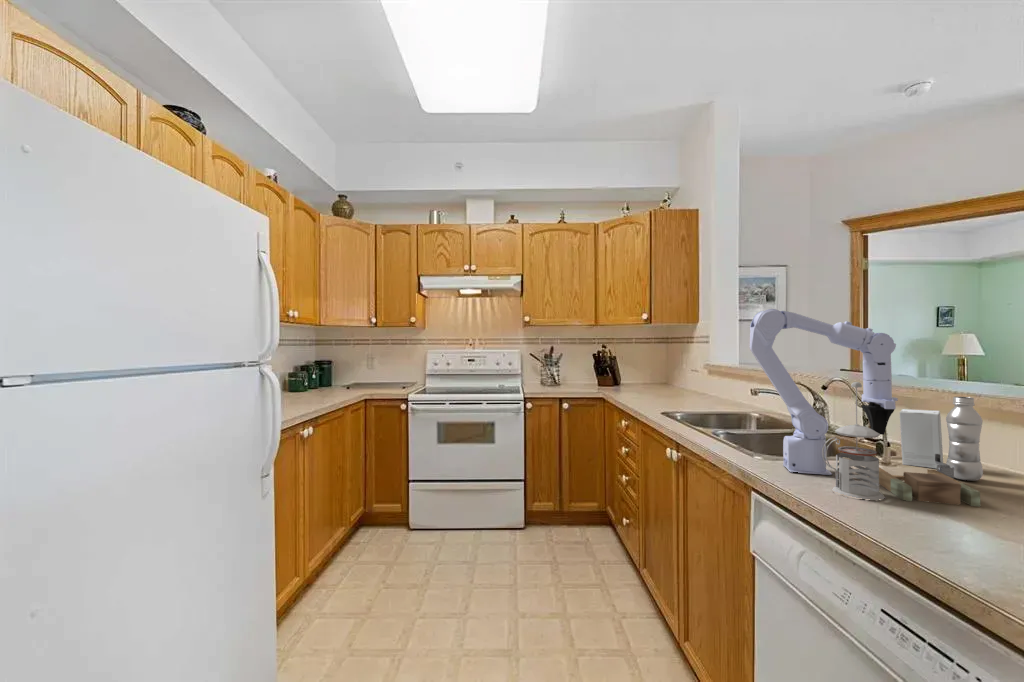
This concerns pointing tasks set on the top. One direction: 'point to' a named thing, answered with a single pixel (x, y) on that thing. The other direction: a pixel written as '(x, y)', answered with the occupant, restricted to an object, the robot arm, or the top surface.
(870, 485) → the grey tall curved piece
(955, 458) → the silver metal bottle
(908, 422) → the skincare box
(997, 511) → the top surface
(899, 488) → the bay
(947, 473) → the crank handle cylinder
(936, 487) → the box
